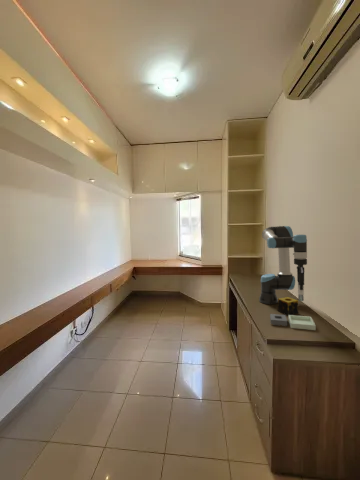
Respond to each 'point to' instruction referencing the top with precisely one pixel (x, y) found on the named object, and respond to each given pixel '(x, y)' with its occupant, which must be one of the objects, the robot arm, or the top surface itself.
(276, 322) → the socket block
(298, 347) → the top surface
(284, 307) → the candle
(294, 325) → the tray
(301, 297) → the pin
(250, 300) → the top surface
